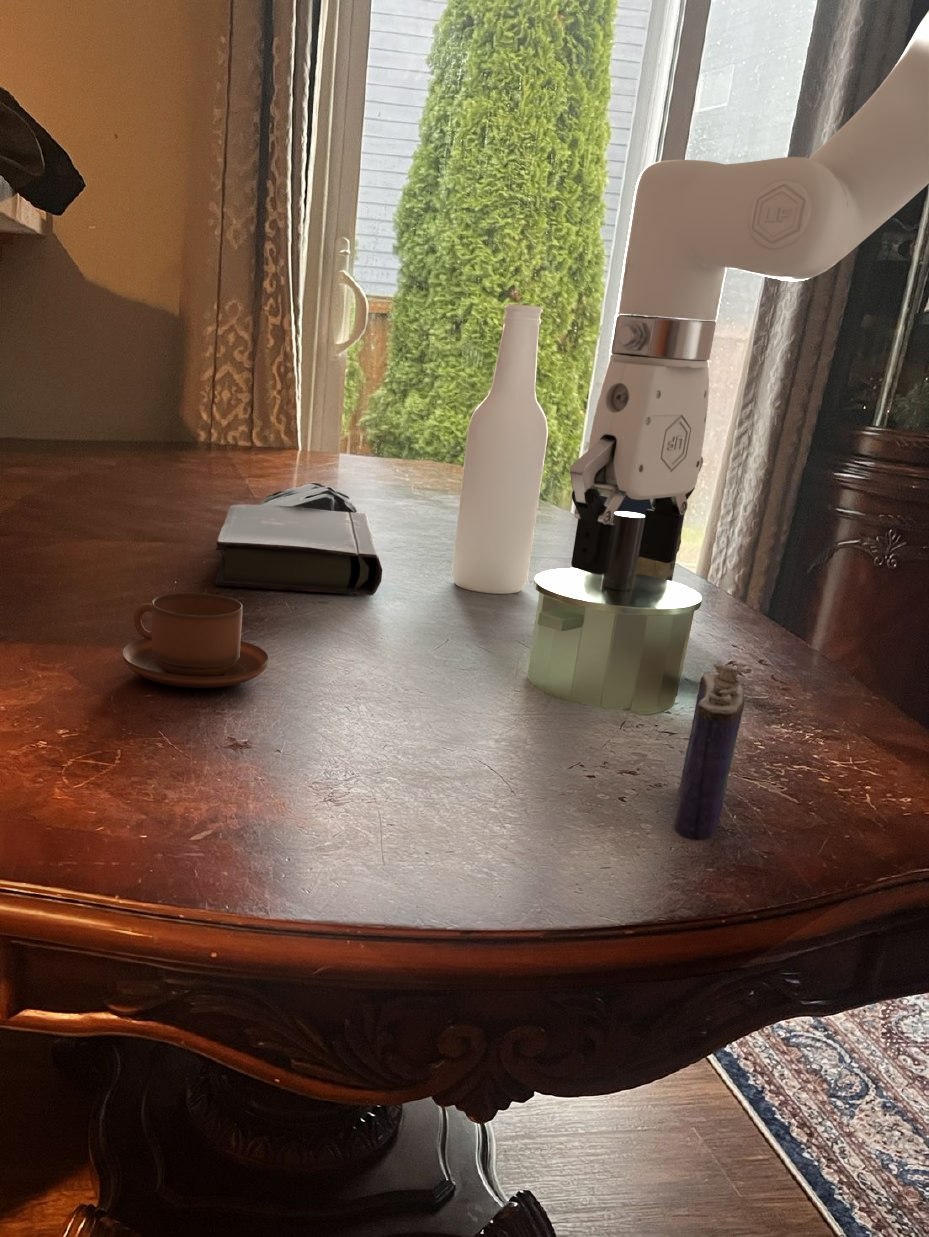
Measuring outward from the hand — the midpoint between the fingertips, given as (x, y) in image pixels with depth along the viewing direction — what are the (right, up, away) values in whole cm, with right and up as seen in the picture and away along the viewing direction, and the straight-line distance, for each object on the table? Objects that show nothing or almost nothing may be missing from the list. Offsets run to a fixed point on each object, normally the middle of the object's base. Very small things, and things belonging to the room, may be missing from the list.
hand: (623, 565), depth 97 cm
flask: (0, -21, -20) cm, 29 cm away
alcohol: (-6, +6, +39) cm, 40 cm away
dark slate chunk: (-27, +21, +70) cm, 78 cm away
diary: (-28, +8, +40) cm, 50 cm away
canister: (+6, -1, +25) cm, 26 cm away
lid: (0, -2, +1) cm, 2 cm away
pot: (-1, -10, +5) cm, 11 cm away
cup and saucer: (-36, -9, 0) cm, 37 cm away
